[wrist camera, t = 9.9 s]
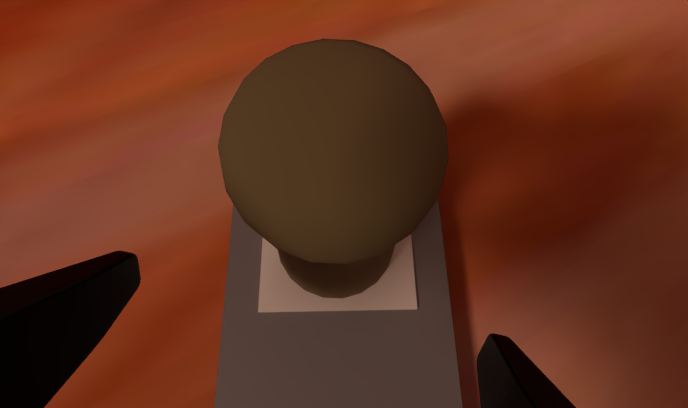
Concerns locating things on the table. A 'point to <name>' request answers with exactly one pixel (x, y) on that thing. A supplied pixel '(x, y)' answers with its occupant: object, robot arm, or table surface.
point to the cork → (333, 160)
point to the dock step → (338, 332)
